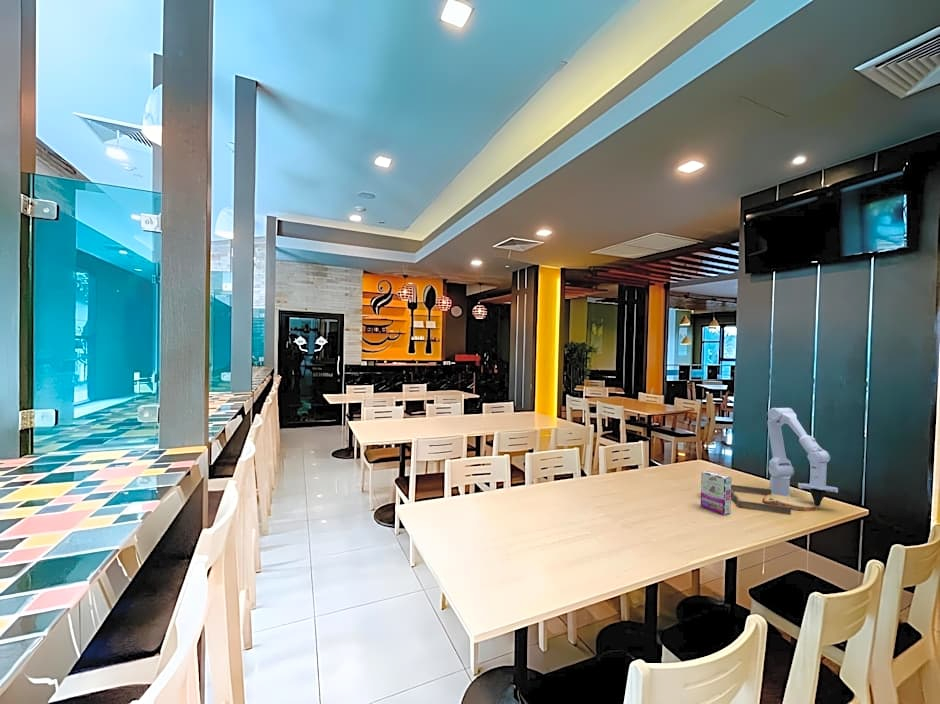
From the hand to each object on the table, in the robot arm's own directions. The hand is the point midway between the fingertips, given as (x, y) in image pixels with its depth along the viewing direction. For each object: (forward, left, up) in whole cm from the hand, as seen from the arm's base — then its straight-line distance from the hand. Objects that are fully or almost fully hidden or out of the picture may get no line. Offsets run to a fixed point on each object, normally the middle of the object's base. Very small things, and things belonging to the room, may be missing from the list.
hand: (816, 505), depth 192 cm
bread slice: (0, -11, -2) cm, 11 cm away
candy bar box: (+22, -46, -2) cm, 51 cm away
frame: (+1, -24, -1) cm, 24 cm away
